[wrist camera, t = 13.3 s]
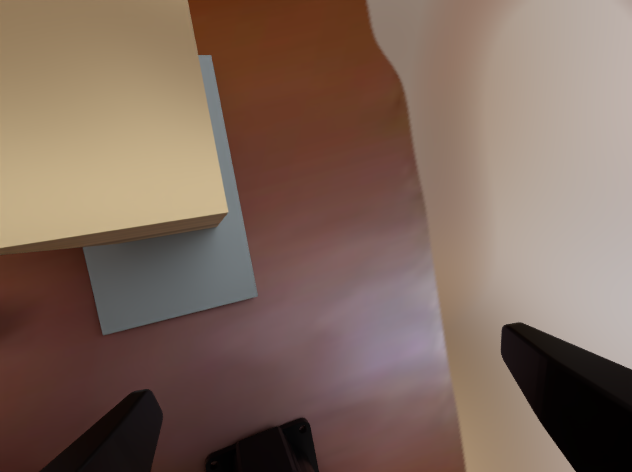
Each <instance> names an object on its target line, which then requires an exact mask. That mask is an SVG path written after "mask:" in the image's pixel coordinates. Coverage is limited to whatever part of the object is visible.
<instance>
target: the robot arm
mask: <svg viewBox="0 0 632 472" xmlns="http://www.w3.org/2000/svg"><path fill="white" fill-rule="evenodd" d="M501 355H502V358H503V360H504V362H505V363H506V365H507V367H508V369H509V370H510V372H511V374H512V375H513V377H514V379H515V381H516V382H517V384H518V386H519V387H520V389H521V391H522V392H523V394H524V396H525V397H526V399H527V401H528V403H529V404H530V406H531V408H532V409H533V411H534V413H535V414H536V415H537V417H538V419H539V421H540V422H541V423H542V425H543V427H544V428H545V429H546V431H547V432H548V434H549V435H550V437H551V438H552V439H553V441H554V442H555V443H556V445H557V446H558V448H559V449H560V450H561V452H562V453H563V454H564V456H565V457H566V459H567V460H568V461H569V463H570V464H571V465H572V467H573V468H574V470H575V471H576V472H632V370H631V369H629V368H627V367H624V366H622V365H620V364H617V363H615V362H613V361H610V360H608V359H605V358H603V357H601V356H598V355H596V354H594V353H592V352H589V351H587V350H585V349H582V348H580V347H578V346H575V345H573V344H570V343H568V342H566V341H563V340H561V339H559V338H556V337H554V336H552V335H549V334H547V333H545V332H542V331H540V330H538V329H536V328H533V327H531V326H529V325H526V324H524V323H512V324H506V325H504V326H503V327H502V336H501ZM162 420H163V414H162V410H161V408H160V406H159V404H158V402H157V400H156V398H155V396H154V394H153V392H152V391H151V390H149V389H144V390H139V391H134V392H132V393H130V394H129V395H128V396H127V397H126V398H124V399H123V400H122V401H121V402H120V403H119V404H117V405H116V406H115V407H114V408H113V409H112V410H110V411H109V412H108V413H107V414H106V415H105V416H103V417H102V418H101V419H100V420H99V421H98V422H96V423H95V424H94V425H93V426H92V427H91V428H90V429H88V430H87V431H86V432H85V433H84V434H83V435H81V436H80V437H79V438H78V439H77V440H76V441H74V442H73V443H72V444H71V445H70V446H69V447H67V448H66V449H65V450H64V451H63V452H62V453H60V454H59V455H58V456H57V457H56V458H55V459H53V460H52V461H51V462H50V463H49V464H48V465H46V466H45V467H44V468H43V469H42V470H41V471H39V472H150V470H151V466H152V462H153V458H154V454H155V450H156V446H157V442H158V437H159V433H160V429H161V425H162ZM303 425H305V427H304V428H303V429H302V430H299V429H300V427H301V426H303ZM213 461H217V462H218V463H217V464H216V465H211V463H212V462H213ZM206 472H319V470H318V465H317V459H316V454H315V449H314V443H313V438H312V433H311V427H310V425H309V422H308V421H307V420H306V419H305V418H300V419H298V420H295V421H292V422H290V423H287V424H285V425H282V426H280V427H274V428H272V429H269V430H266V431H264V432H261V433H259V434H256V435H254V436H251V437H249V438H246V439H244V440H241V441H239V442H238V443H237V444H234V445H232V446H229V447H227V448H224V449H222V450H219V451H216V452H214V453H212V454H210V455H209V456H208V457H207V459H206Z"/></svg>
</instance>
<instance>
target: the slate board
mask: <svg viewBox="0 0 632 472" xmlns="http://www.w3.org/2000/svg"><path fill="white" fill-rule="evenodd" d="M198 57H199V63H200V68H201V73H202V78H203V83H204V88H205V94H206V99H207V104H208V109H209V114H210V119H211V125H212V130H213V135H214V140H215V145H216V150H217V156H218V161H219V166H220V171H221V176H222V181H223V187H224V192H225V197H226V202H227V207H228V213H227V215H226V216H225V217H224V219H223V220H222V221H221V222H220V224H219V225H218V226H217V227H213V228H207V229H201V230H195V231H189V232H184V233H178V234H172V235H166V236H160V237H154V238H148V239H142V240H136V241H130V242H125V243H119V244H109V245H99V246H88V247H83V251H84V255H85V259H86V264H87V268H88V272H89V277H90V281H91V285H92V290H93V294H94V299H95V303H96V307H97V312H98V316H99V320H100V325H101V329H102V333H103V335H106V334H110V333H114V332H118V331H122V330H126V329H130V328H134V327H138V326H142V325H146V324H150V323H154V322H158V321H162V320H166V319H170V318H174V317H178V316H182V315H186V314H190V313H194V312H198V311H202V310H206V309H210V308H214V307H218V306H222V305H226V304H230V303H234V302H237V301H241V300H245V299H249V298H253V297H257V296H258V294H257V289H256V284H255V279H254V274H253V268H252V263H251V258H250V253H249V248H248V243H247V238H246V232H245V227H244V222H243V217H242V212H241V207H240V202H239V196H238V191H237V186H236V181H235V176H234V171H233V166H232V161H231V155H230V150H229V145H228V140H227V135H226V130H225V125H224V119H223V114H222V109H221V104H220V99H219V94H218V89H217V83H216V78H215V73H214V68H213V63H212V58H211V55H198Z"/></svg>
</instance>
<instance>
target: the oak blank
mask: <svg viewBox="0 0 632 472" xmlns="http://www.w3.org/2000/svg"><path fill="white" fill-rule="evenodd" d="M227 213H228V207H227V202H226V197H225V192H224V187H223V181H222V176H221V171H220V166H219V161H218V156H217V150H216V145H215V140H214V135H213V130H212V125H211V119H210V114H209V109H208V104H207V99H206V94H205V88H204V83H203V78H202V73H201V68H200V63H199V57H198V52H197V47H196V42H195V37H194V31H193V26H192V21H191V16H190V11H189V6H188V0H0V255H5V254H15V253H26V252H36V251H47V250H57V249H67V248H78V247H88V246H99V245H109V244H119V243H125V242H130V241H136V240H142V239H148V238H154V237H160V236H166V235H172V234H178V233H184V232H189V231H195V230H201V229H207V228H213V227H217V226H218V225H219V224H220V222H221V221H222V220H223V219H224V217H225V216H226V215H227Z"/></svg>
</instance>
